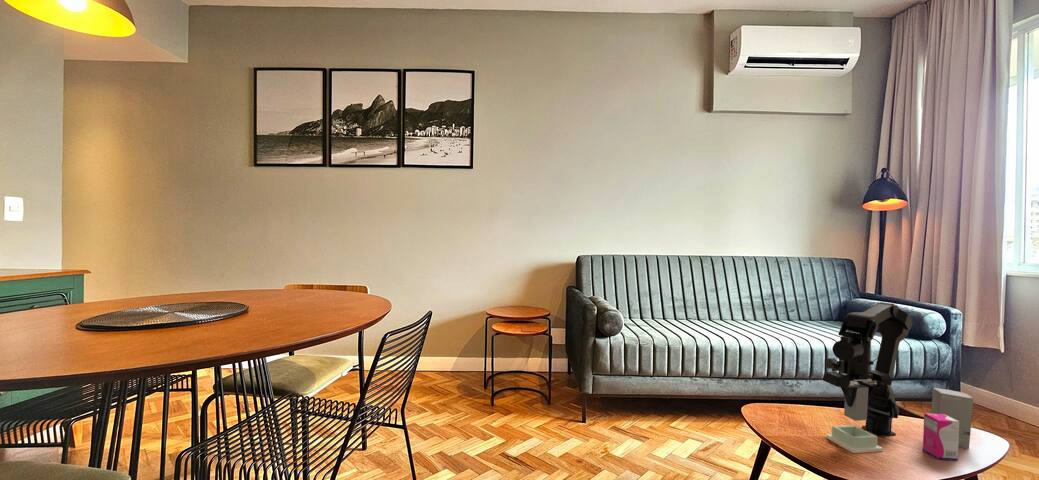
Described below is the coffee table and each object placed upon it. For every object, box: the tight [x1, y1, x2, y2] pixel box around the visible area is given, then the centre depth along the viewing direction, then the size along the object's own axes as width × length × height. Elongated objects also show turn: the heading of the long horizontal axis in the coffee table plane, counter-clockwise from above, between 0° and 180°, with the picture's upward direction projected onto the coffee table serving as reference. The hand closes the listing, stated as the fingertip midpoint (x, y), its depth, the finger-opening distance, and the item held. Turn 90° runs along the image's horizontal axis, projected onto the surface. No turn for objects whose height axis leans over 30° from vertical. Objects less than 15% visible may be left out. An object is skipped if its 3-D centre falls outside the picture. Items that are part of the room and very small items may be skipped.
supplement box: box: [922, 412, 959, 461], centre depth 139 cm, size 6×6×12 cm
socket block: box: [825, 424, 884, 454], centre depth 145 cm, size 10×10×4 cm
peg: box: [843, 382, 869, 422], centre depth 145 cm, size 4×4×10 cm
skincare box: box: [930, 387, 974, 450], centre depth 148 cm, size 8×7×16 cm
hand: (855, 406), depth 145 cm, fingers closed on peg, 4 cm apart
